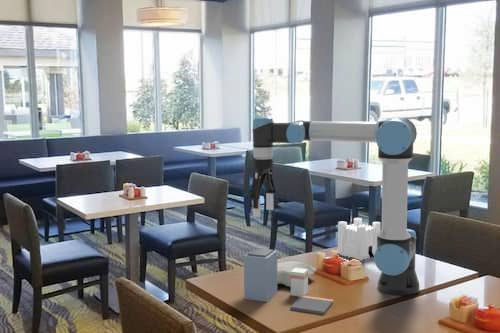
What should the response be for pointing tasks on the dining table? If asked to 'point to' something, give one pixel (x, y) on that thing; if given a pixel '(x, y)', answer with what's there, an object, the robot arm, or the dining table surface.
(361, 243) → the castle model
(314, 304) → the mat
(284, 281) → the rock
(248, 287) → the box
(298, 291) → the cartridge
